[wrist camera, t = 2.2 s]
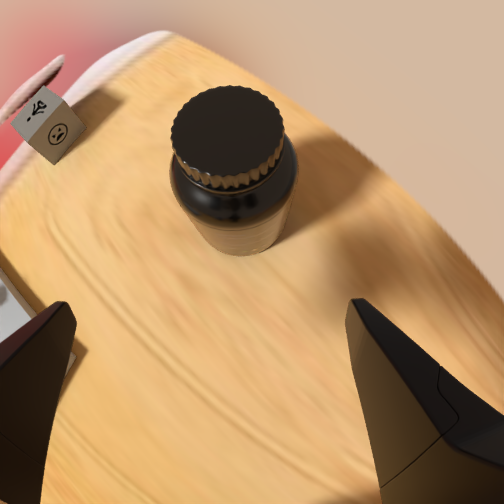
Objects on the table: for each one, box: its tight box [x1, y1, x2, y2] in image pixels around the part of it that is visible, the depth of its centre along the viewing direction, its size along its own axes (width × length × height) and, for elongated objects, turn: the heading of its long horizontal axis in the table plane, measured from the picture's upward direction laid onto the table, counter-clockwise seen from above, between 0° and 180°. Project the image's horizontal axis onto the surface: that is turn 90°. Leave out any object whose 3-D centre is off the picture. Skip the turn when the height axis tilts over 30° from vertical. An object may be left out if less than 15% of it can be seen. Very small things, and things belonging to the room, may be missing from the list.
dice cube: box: [11, 86, 87, 165], centre depth 24 cm, size 5×5×5 cm
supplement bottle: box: [169, 85, 299, 256], centre depth 18 cm, size 7×7×12 cm
